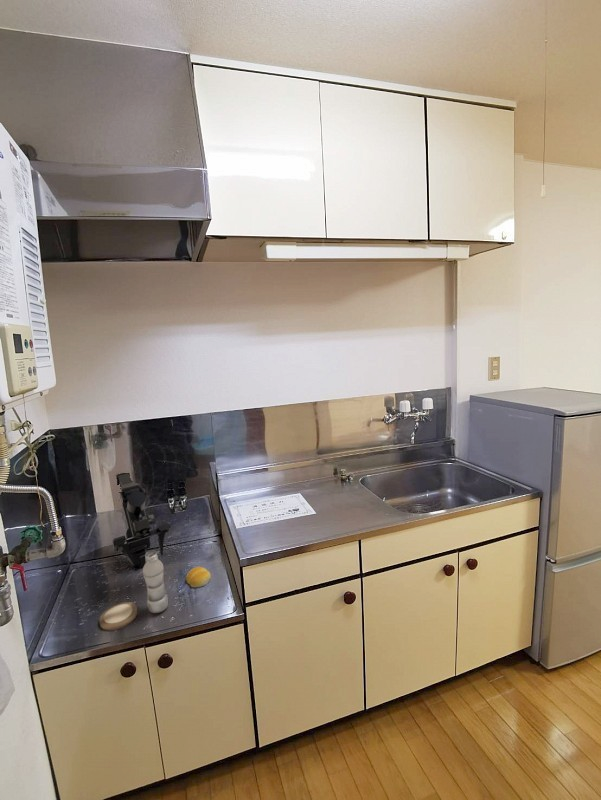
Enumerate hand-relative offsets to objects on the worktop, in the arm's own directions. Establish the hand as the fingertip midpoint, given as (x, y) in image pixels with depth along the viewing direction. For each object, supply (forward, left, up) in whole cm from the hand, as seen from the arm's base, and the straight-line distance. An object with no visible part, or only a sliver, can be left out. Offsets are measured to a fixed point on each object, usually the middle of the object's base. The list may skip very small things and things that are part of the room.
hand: (148, 560), depth 133 cm
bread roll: (+6, +15, -14) cm, 21 cm away
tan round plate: (+1, -12, -14) cm, 18 cm away
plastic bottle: (+8, -2, -14) cm, 16 cm away
